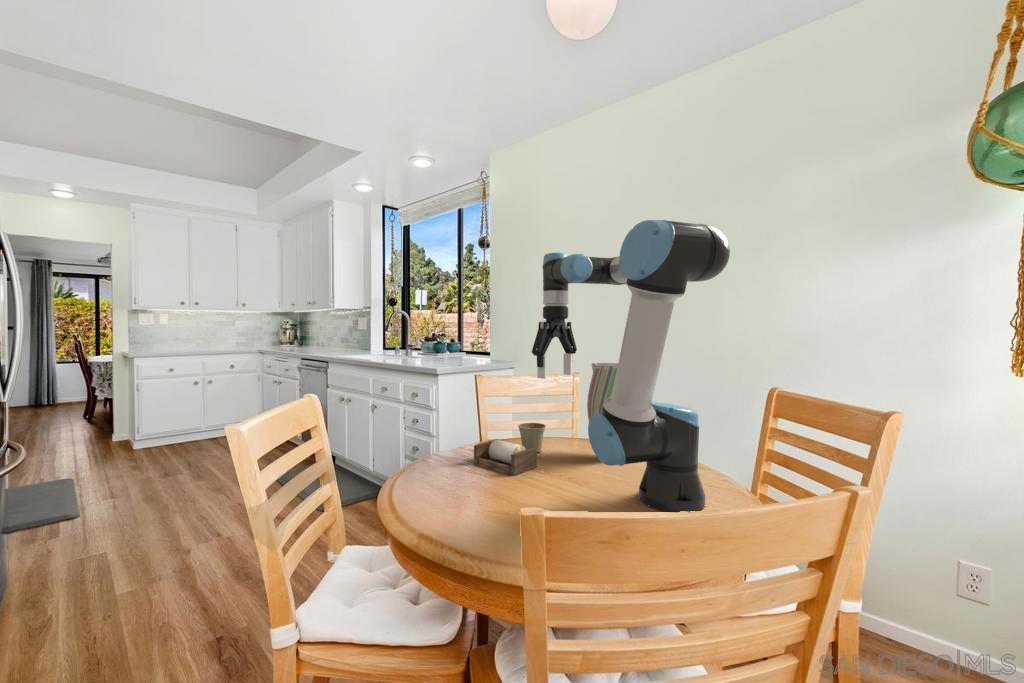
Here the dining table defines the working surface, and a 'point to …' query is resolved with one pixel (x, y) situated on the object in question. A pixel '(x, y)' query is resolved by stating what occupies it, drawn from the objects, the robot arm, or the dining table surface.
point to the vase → (600, 386)
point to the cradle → (518, 463)
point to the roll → (504, 450)
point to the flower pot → (532, 435)
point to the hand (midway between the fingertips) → (555, 376)
